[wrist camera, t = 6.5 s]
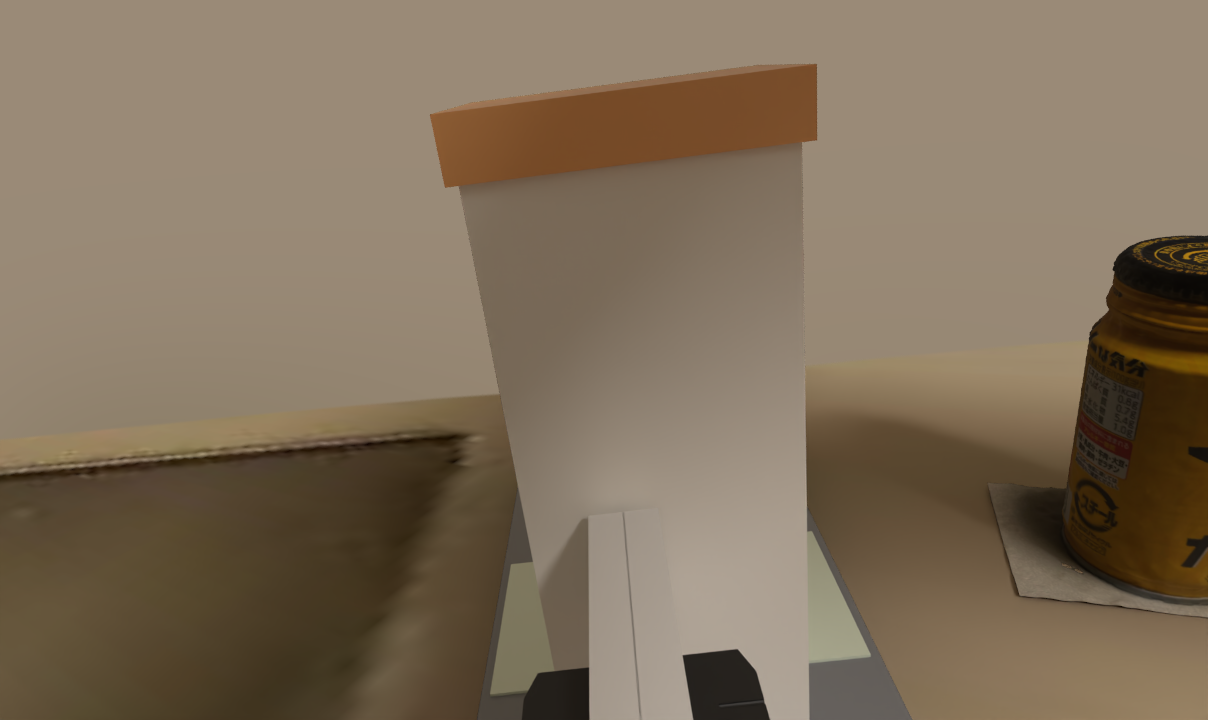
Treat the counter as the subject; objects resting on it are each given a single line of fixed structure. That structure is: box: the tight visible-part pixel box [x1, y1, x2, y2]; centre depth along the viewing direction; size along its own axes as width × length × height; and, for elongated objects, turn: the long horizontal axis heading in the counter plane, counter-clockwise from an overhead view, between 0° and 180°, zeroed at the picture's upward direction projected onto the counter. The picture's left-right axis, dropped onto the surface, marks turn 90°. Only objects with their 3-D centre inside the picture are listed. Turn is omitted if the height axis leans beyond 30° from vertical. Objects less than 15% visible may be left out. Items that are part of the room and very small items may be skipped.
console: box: [477, 488, 912, 720], centre depth 23 cm, size 30×12×3 cm, turn 1°
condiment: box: [988, 236, 1208, 617], centre depth 25 cm, size 7×8×12 cm
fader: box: [430, 64, 817, 720], centre depth 17 cm, size 4×6×16 cm
